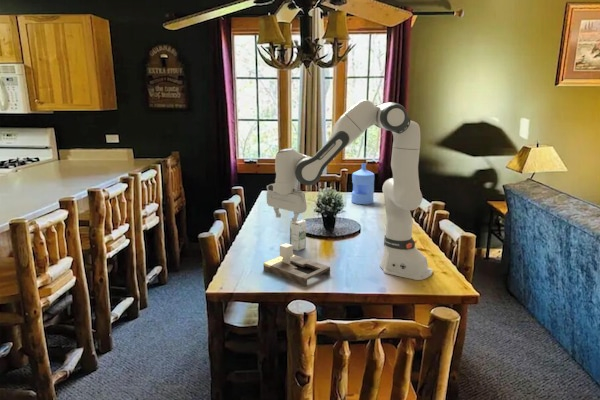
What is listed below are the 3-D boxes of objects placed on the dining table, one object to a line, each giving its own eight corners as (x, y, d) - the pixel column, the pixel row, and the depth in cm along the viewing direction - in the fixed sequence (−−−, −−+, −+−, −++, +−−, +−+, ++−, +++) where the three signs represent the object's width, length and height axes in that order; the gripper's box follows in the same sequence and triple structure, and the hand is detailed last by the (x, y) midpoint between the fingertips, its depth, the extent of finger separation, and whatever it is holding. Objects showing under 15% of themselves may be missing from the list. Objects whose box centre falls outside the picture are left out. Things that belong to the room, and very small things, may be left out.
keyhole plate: (330, 274, 177) (330, 266, 177) (305, 286, 166) (305, 278, 165) (288, 259, 193) (288, 252, 192) (263, 270, 181) (263, 262, 181)
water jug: (361, 198, 310) (362, 161, 304) (377, 202, 299) (379, 163, 292) (346, 201, 301) (347, 163, 294) (363, 206, 289) (364, 166, 282)
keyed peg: (294, 268, 183) (294, 245, 181) (286, 271, 180) (286, 248, 177) (286, 265, 187) (286, 242, 184) (278, 268, 183) (278, 245, 180)
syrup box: (297, 245, 212) (297, 218, 208) (306, 248, 208) (306, 220, 205) (289, 248, 207) (289, 220, 204) (298, 251, 204) (298, 222, 200)
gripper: (309, 189, 170) (309, 222, 173) (274, 183, 183) (274, 213, 187) (299, 192, 166) (299, 225, 169) (263, 185, 179) (264, 216, 182)
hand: (286, 219), depth 178 cm, fingers open, 8 cm apart
